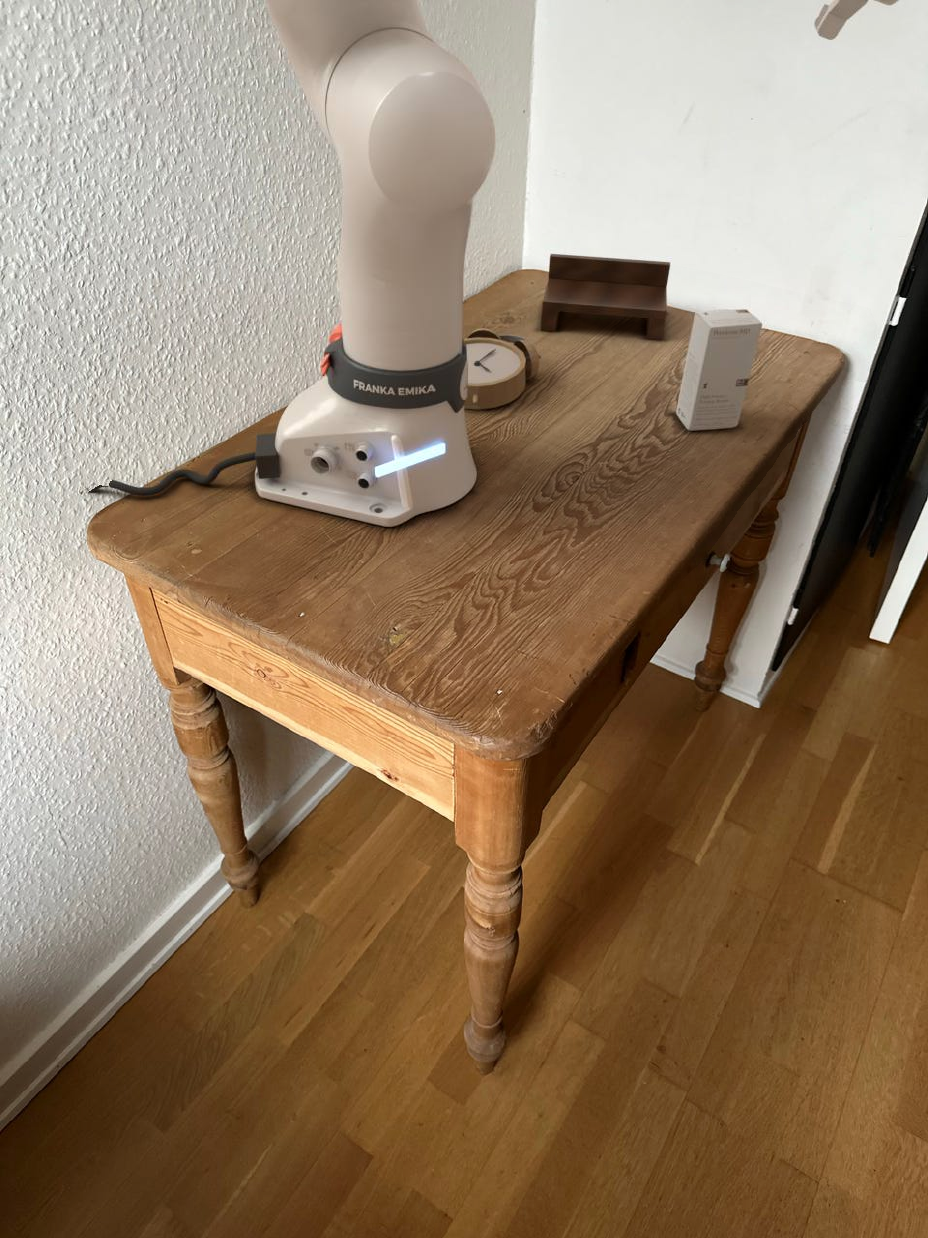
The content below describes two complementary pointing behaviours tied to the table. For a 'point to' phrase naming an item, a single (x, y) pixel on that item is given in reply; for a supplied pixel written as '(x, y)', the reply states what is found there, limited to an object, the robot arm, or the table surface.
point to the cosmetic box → (717, 368)
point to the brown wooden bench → (606, 290)
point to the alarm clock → (497, 368)
